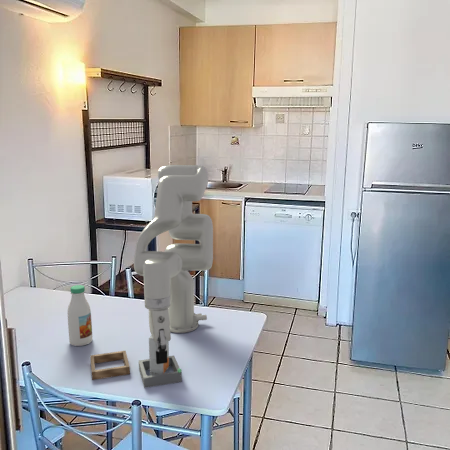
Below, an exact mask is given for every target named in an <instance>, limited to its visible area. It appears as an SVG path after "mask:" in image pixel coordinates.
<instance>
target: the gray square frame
mask: <svg viewBox="0 0 450 450" xmlns="http://www.w3.org/2000/svg"><path fill="white" fill-rule="evenodd" d="M170 367H172V370H173V371H170V372H165V373H164V374H157V375H147V372H146V371H148V370H149V371H150V361H149V358H147V359H140V360H138V371H139V375H140V378H141V382H142V386H143V389H146V388H151V387H158V386H164V385H170V384H175V383H181V382H183V380H182V379H183V373H182V368H180V366H179V364H178V361H177V358H176V357H175V355H169V368H170Z"/></svg>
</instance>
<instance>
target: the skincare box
mask: <svg viewBox="0 0 450 450" xmlns="http://www.w3.org/2000/svg"><path fill="white" fill-rule="evenodd" d="M159 340H160V338H159V339H158V341H159ZM169 342H170V341H167V339H166V346H167V363H162V364H157V363H156V351H157V347H156V342H154V340H153V337H152V335H151V334H150V337H149V338H148V351H149V353H148V354H149V358H148V359H149V361H150V370H149V376H151V375H157V374H164V373H167V371H168V369H169V368H170V367H169V356H170V350H169V349H170V347H169ZM160 345H161V343H159V346H160Z"/></svg>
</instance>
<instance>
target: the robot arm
mask: <svg viewBox="0 0 450 450" xmlns="http://www.w3.org/2000/svg"><path fill="white" fill-rule="evenodd" d="M157 178H158V184H157V192H156V201H155V206H154V207H155V208H154V217H153V219H152V220H151V221H150V222H149V223H148V224H147V225H146V226H145V227H144V228H143V230H142V231H141V232H140V234H139V235H138V237H137V241H136V243H135V248H134V249H135V251H134V255H133V257H134V258H133V268H134V271H135V273H136V274H137V275H138V276H142V277H143V294H144V295H143V296H144V308H145V309H147V310H148V324H149V326H148V327H149V331H150V336H151V335H152V337H153V340H154V342H156V347H157V351H156V363H157V364H162V363H167V346H166V339H167V341H169V342H170V341H171V339H172V338H171V335H172V334H171V333H174V334H175V333H176V334H177V333H178V334H182V333H183V334H185V333H189V332H190V333H191V332H193V331H194V330H197V329H198V327H199V322H200V321H206V320H208V317H207V316H208V315H207V314H202V313H201V312H200V313H196V312H195V290H194V289H195V286H194V285H195V284H194V283H195V282H194V279H193V277H192V275H191V274H190V272H189V271H202V272H203V271H204V272H205V271H208V270H210V269H211V268H212V266H213V262H214V225H213V220H212V218H211V216H210V215H208V214H206V213H205V214H204V213H193V202H199V201H201V200H202V199H203V197H204V194H205V192H206V189H207V186H208V184H209V172H208V169H207V168H206V167H205V166H204V165H199V164H198V165H195V164H194V165H191V164H187V165H186V164H169V165H163V166H161V167H160V168H159V169H158V172H157ZM165 232H168V234H169V237H170V238H171V239H173V240H178V241H197V242H199V243H179V242H178V243H172V244H169V245H167V246H166V248H165V250H164V251H157V250H152V251H151V250H147V249H148V245H150V243H151V241H152V240H153V239H154V238H156V237H157V236H160V235H161V234H164V233H165ZM159 338H160V340H159V341H158V339H159ZM159 343H161V345H160V346H159Z"/></svg>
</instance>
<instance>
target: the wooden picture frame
mask: <svg viewBox="0 0 450 450" xmlns="http://www.w3.org/2000/svg"><path fill="white" fill-rule="evenodd" d="M89 357H90V367H91V368H90V369H91V381H95V380H102V379H107V378H114V377H121V376H126V375H130V374H131V368H130V363H129V359H128V355H127V352H126V350H119V351H112V352H105V353H97V354H90V356H89ZM114 361H123V364H124V365H122V366H115V367H114V366H113V367H108V368H107V367H106V368H100V369H96V366H95V365H96V364H100V363H101V364H102V363H108V362H114Z"/></svg>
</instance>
